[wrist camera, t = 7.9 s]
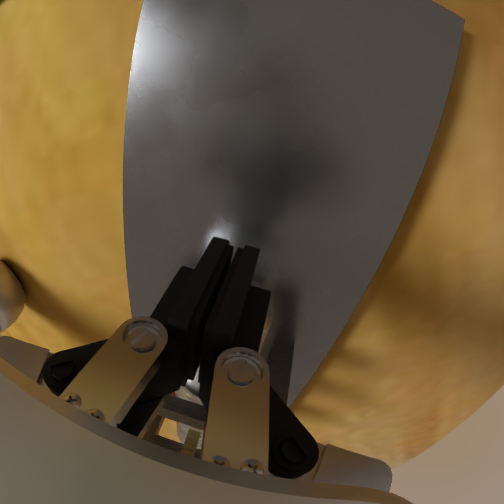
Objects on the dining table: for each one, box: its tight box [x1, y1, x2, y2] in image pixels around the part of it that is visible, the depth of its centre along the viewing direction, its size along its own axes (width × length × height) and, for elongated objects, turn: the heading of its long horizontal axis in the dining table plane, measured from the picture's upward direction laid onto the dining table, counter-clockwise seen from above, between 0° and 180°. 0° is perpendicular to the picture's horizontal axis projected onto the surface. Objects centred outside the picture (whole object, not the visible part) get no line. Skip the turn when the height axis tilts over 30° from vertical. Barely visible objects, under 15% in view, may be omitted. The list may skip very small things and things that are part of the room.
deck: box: [123, 0, 465, 408], centre depth 15 cm, size 31×12×1 cm, turn 169°
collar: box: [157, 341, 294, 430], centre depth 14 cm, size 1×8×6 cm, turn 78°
